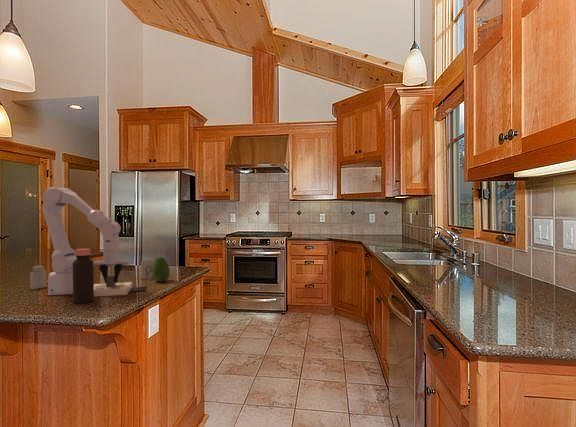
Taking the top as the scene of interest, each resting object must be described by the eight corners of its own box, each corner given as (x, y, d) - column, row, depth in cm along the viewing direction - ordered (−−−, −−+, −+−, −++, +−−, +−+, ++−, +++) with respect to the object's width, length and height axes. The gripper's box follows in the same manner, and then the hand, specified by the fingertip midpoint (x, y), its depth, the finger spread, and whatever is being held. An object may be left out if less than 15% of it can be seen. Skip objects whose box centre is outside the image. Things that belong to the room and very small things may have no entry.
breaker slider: (106, 286, 136) (106, 276, 136) (108, 284, 140) (108, 274, 140) (114, 286, 137) (114, 276, 137) (116, 283, 141) (116, 274, 141)
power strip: (85, 297, 131) (85, 290, 130) (94, 289, 142) (94, 283, 142) (144, 293, 136) (144, 287, 136) (148, 286, 148) (148, 281, 148)
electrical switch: (141, 279, 162) (141, 260, 163) (140, 278, 167) (140, 260, 168) (161, 278, 166) (161, 259, 167) (160, 277, 171) (160, 259, 172)
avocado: (157, 279, 162) (157, 255, 162) (172, 280, 161) (172, 256, 161) (148, 283, 154) (148, 258, 154) (164, 284, 153) (164, 258, 153)
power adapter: (47, 286, 147) (46, 260, 147) (34, 289, 142) (34, 262, 142) (42, 286, 148) (41, 259, 148) (29, 289, 143) (29, 261, 143)
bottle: (74, 300, 126) (74, 248, 126) (95, 298, 129) (94, 247, 129) (71, 305, 120) (70, 250, 120) (92, 302, 123) (91, 249, 122)
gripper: (88, 252, 132) (89, 285, 133) (127, 251, 136) (128, 283, 136) (94, 250, 139) (94, 281, 139) (131, 249, 143) (131, 280, 143)
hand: (111, 282), depth 138 cm, fingers closed on breaker slider, 3 cm apart
